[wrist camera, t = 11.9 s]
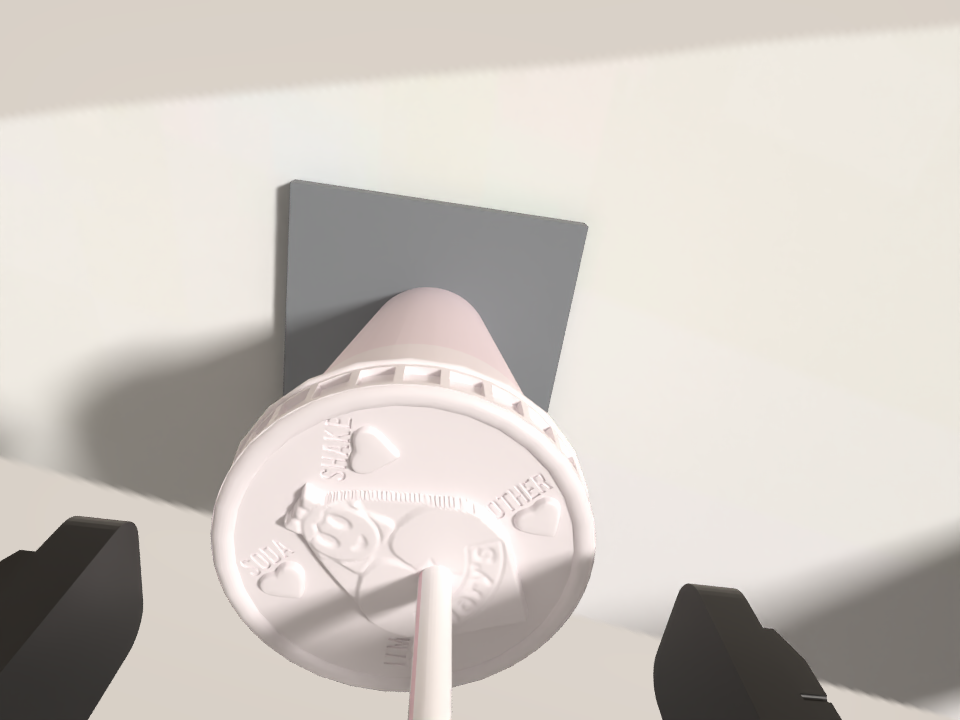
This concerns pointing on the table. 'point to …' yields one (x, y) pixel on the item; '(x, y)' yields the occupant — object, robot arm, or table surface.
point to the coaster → (426, 274)
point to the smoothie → (406, 512)
